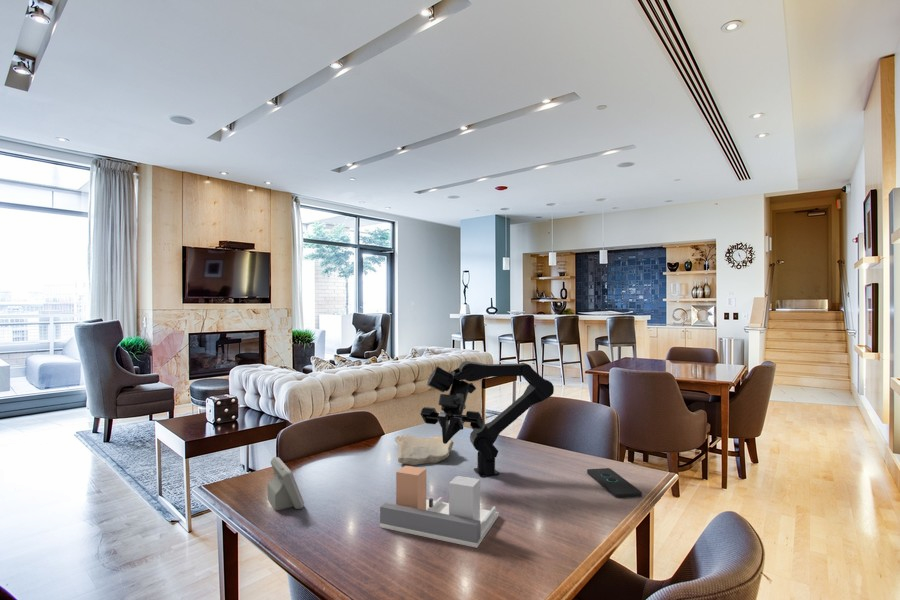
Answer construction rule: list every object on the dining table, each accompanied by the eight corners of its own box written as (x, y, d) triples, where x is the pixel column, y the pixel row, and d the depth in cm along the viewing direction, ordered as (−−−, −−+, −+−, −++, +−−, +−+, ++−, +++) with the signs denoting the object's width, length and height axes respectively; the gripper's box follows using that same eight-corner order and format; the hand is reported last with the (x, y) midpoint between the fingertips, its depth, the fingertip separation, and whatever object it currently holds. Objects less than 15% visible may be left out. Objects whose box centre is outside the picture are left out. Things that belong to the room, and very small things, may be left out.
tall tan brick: (405, 507, 124) (405, 465, 124) (426, 511, 122) (426, 468, 122) (396, 515, 120) (396, 471, 120) (417, 519, 117) (417, 475, 117)
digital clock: (304, 511, 125) (305, 470, 125) (268, 516, 122) (268, 475, 122) (300, 488, 140) (300, 452, 140) (267, 492, 137) (267, 455, 137)
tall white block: (456, 520, 117) (456, 475, 117) (479, 524, 115) (480, 479, 115) (449, 529, 113) (449, 482, 113) (472, 534, 110) (473, 486, 110)
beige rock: (445, 445, 185) (393, 442, 183) (447, 426, 185) (395, 422, 182) (454, 469, 161) (395, 466, 159) (456, 447, 161) (397, 444, 158)
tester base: (411, 500, 132) (411, 482, 132) (498, 515, 122) (498, 496, 122) (380, 527, 116) (380, 506, 116) (476, 547, 107) (477, 525, 107)
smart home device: (610, 467, 155) (643, 492, 135) (610, 472, 155) (643, 498, 135) (585, 468, 153) (616, 494, 134) (585, 474, 153) (616, 500, 134)
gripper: (422, 381, 148) (407, 425, 138) (480, 385, 141) (468, 432, 131) (432, 401, 155) (418, 444, 145) (487, 405, 149) (476, 451, 138)
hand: (444, 443), depth 140 cm, fingers closed
